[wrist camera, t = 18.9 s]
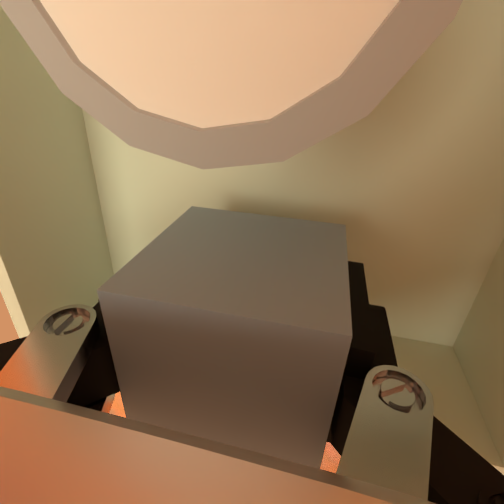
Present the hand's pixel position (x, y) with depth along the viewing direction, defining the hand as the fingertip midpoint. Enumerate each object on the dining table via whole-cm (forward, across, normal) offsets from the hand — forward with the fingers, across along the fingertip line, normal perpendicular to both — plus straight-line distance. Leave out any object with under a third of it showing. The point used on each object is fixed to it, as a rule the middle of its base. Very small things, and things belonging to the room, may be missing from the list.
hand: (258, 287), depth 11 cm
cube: (+1, 0, 0) cm, 1 cm away
